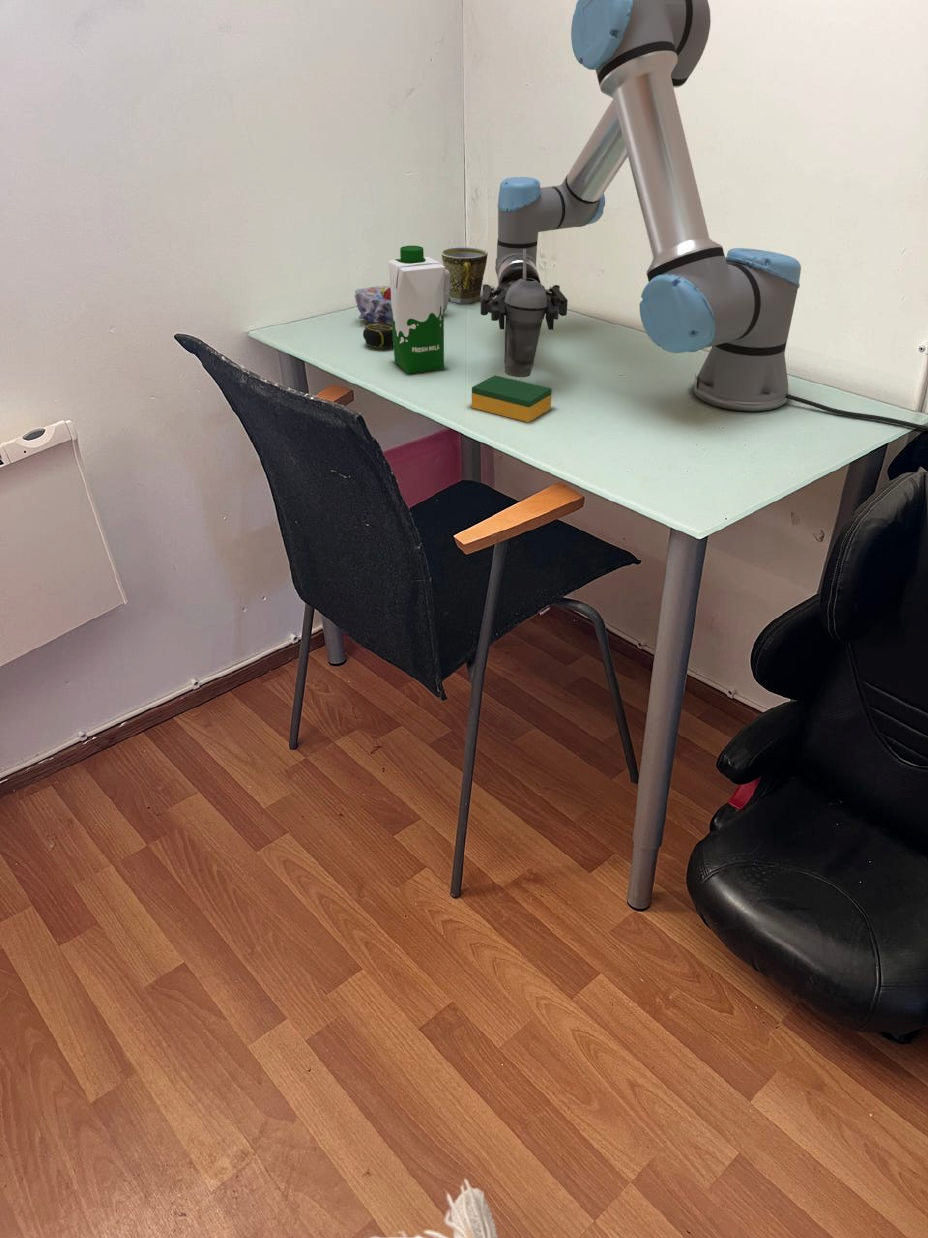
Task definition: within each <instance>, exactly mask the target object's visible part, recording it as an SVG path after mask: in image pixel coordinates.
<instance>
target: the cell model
mask: <svg viewBox="0 0 928 1238" xmlns="http://www.w3.org/2000/svg"><path fill="white" fill-rule="evenodd" d="M443 295H444V312H445V311H447V309H448V305H449V300H450V297H449V295H450V272H449V271H448V270H446V269H445V274H444V286H443ZM354 299H355V303H356V306H357V307H356V308H357V310H358V311H359V313H360V315H358V318H359V320H365V321H367V322H368V323H369V324H372V323H374V322H377V323H385V324H391V325H392V308H391V284H389V285H381V286H379V285H377V286H369V287H367V288H366V287H365V288H357V289H356V290H354Z"/></svg>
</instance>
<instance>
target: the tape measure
mask: <svg viewBox="0 0 928 1238" xmlns="http://www.w3.org/2000/svg"><path fill="white" fill-rule="evenodd" d="M362 337H363V339H364V340H365V344H367V345H368V346H370V347H373V348H376V349H386V348H391V347H393V332H392V325H391V324H385V323H377V322H374V323H372V324H371V323H369V324H367V325H366V326H365V328H364V329H363V331H362Z"/></svg>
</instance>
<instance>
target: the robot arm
mask: <svg viewBox="0 0 928 1238" xmlns="http://www.w3.org/2000/svg"><path fill="white" fill-rule="evenodd" d="M571 19H572V20H571V27H570V28H571V29H570V41H571V47H572V52H573V55H574V57H575V59H576V61H577V62H578V63H579V64H580V65H582V67H584V68H586V70H590V71H595V74H596V77H597V82H598V85H599V90H600V92H601V93H602V94H603V95H605V96H608V97H609V98H611V99H612V100H611V101H610V103H609V105H608V106H607V108H606V110H605V112H604V113H603V115H602V117H601V118H600V120H599V121H598V123H597V124H596V127H595V128H594V130H593V131H592V133H591V134H590V137H589V138H588V140H587V142H586V143H585V145H584V146H583V148H582V150H581V151H580V153H579V155H578V156H577V158H576V160H575V162H574V163H573V164H572V166H571V168H570V170H569V172H568V173H567V175H566V176H565V177H564V179H563V181H562V183H561V184H559V185H551V186H544V187H541V182H540V180H538V179H537V178H535V177H529V176H512V177H506V178H504V179H503V180H501V182H500V183H499V189H498V199H497V205H496V206H497V242H496V258H495V267H494V270H495V274H496V277H497V284H498V285H497V286H496V288H495V287H494V286H492V285H490V284H486V283H485V284H482V295H481V297H480V315H482V316H487V315H488V314H490V317H491V318H490V320H491V321H493V322H497V321H498V326H499V330H502V331H503V330H504V331H505V317H506V316H505V309H504V306H505V304H504V300H505V296H506V293H507V291H508V289H509V288H510V286H511V285H512V284H513V283H514V282H516V281H517V280H519V279H522V278H523V249H526V278H531V279H534V280H536V281H538V282H539V283H540V284H541V285H542V286H543V288H544V290H545V292H546V296H547V307H548V308H547V309H546V313H545V316H544V319H545V322H546V325H547V329H548V330H549V331H553V330H554V325H555V320H559V317H560V316H562V317H566V316H567V315H568V303H569V301H568V298H567V297H566V296H565V295H564V294H563V292H562V291H561V290H560V288H561V286H560V285H558V284H555V285H552V286H549V288H548V289H547V288H546V287H545V286H544V285H543V284H542V283H541V282H542V281H541V280H540V279H541V278H540V275H539V272H538V269H537V255H538V254H537V253H538V241H539V233H542V232H549V231H556V230H564V229H572V228H582V227H585V226H587V225H591V224H595V223H596V222H598V221H599V220H601V218H602V216H603V214H604V208H605V206H606V197H605V196H606V195H605V192H606V191H607V189H609V186H610V185H611V183H612V182H613V180H614V179H615V177H616V176H617V174H618V173H619V172H620V170H621V169H622V167H623V166H624V164H625V162H626V161H627V159H628V163H629V167H630V170H631V175H632V179H633V183H634V186H635V190H636V194H637V198H638V202H639V203H638V204H639V205H640V206H639V207H640V210H641V215H642V219H643V223H644V226H645V231H646V234H647V239H648V243H649V246H650V251H651V255H652V261H651V263H650V265H649V266H648V268H647V270H646V271H645V272H646V273H645V274H646V276H647V281H648V283H647V284H646V285H645V286H644V288H643V290H642V292H641V295H640V298H641V299H642V300H641V301H640V302H639V316H640V321H641V324H642V326H643V329H644V331H645V333H646V334H647V336H648V338H649V339H650V340H651V341H652V342H653V344H655V346H657V347H660V348H661V349H662V350H663V351H665V352H668V353H671V354H682V353H695V352H699V351H702V350H704V349H708V348H710V347H711V348H710V350H709V352H708V354H707V356H706V358H705V360H704V362H703V364H702V366H701V368H700V369H699V371H698V374H697V373H695V375H694V390H693V391H694V394H695V396H696V397H697V398H698V399H699V400H701V401H703V402H705V403H707V404H709V405H712V406H714V407H717V408H723V409H725V410H733V411H741V412H742V411H743V412H762V411H763V412H764V411H770V410H774V409H777V408H780V407H782V406H783V405H784V404H786V403H787V400H791V401H793V402H798V403H801V404H804V405H807V406H810V407H814V408H817V409H820V410H822V411H826V412H829V413H832V414H836V415H841V416H846V417H853V418H860V419H867V420H872V421H873V420H874V421H880V422H884V423H890V424H895V425H898V426H899V425H900V426H904V427H908V428H912V429H917V430H920V431H926V432H928V426H927V425H923V424H918V423H914V422H910V421H906V420H901V419H896V418H892V417H887V416H883V415H875V414H870V413H869V414H868V413H862V412H861V413H860V412H854V411H847V410H844V409H843V410H842V409H838V408H834V407H831V406H827V405H824V404H821V403H818V402H815V401H812V400H810V399H805V398H803V397H798V396H796V395H792V394H789V380H788V372H787V364H786V355H785V354H786V348H787V344H788V343H787V342H788V339H789V333H790V328H791V324H792V320H793V315H794V309H795V305H796V299H797V295H798V290H799V289H800V286H801V285H800V279H801V274H802V273H801V272H802V265H801V263H800V261H799V260H797V258H795V257H794V256H790V255H788V254H783V253H780V252H774V251H769V250H764V249H763V250H762V249H755V248H748V247H747V248H745V247H734V248H730V249H728V251H727V253H726V256H725V251H724V246H723V245H721V244H720V243H718V242H716V241H714V240H712V238H710V234H709V230H708V226H707V221H706V218H705V214H704V209H703V206H702V201H701V196H700V193H699V189H698V185H697V180H696V177H695V171H694V168H693V164H692V159H691V154H690V152H689V147H688V142H687V139H686V134H685V130H684V126H683V125H684V124H683V122H682V117H681V114H680V109H679V105H678V101H677V97H676V93H675V89H677V88H681V87H683V86H684V85H685V84H686V83H687V81H688V79H689V78H690V76H691V75H692V74H693V72H694V70H695V69H696V67H697V65H698V64H699V62H700V60H701V58H702V56H703V54H704V52H705V48H706V46H707V43H708V40H709V35H710V30H711V21H712V19H711V9H710V5H709V0H577V1H576V4H575V10H574V13H573V14H572V18H571Z"/></svg>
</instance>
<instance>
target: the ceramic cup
mask: <svg viewBox="0 0 928 1238" xmlns="http://www.w3.org/2000/svg"><path fill="white" fill-rule="evenodd" d="M488 254H489V253H488V251H487V250H485V249H482V248H479V247H472V246H471V247H469V246H462V247H461V246H459V247H450V248H446V249H444V250H441V260H442V265H443V266H444V267H445V269H446V270H448V271H449V272H450V295H449V300H450V302H452V303H456V304H460V305H466V304H473V303H474V304H475V303H476V302H479V301H480V300H481V292H482V288H483V282H484V275H485V272H486V266H487V260H488Z"/></svg>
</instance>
